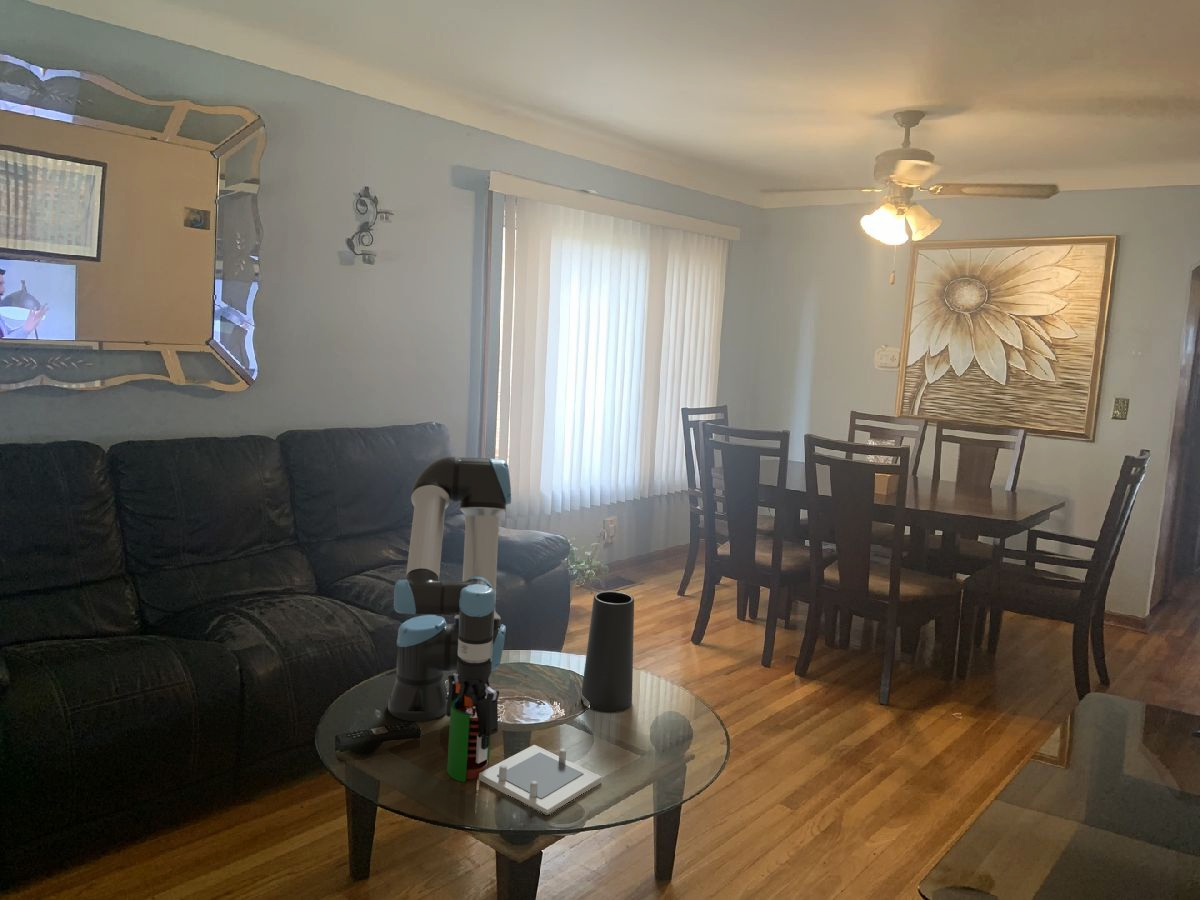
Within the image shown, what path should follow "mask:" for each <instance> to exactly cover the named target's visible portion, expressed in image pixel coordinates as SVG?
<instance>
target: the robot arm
mask: <svg viewBox="0 0 1200 900" xmlns="http://www.w3.org/2000/svg"><path fill="white" fill-rule="evenodd" d="M412 486H413V487H412V490H411V497H410V501H411V503H412V505H413V514H412V515H413V516H412V524H411V531H410V539H409V540H410V541H409V547H408V557H407V564H406V565H407V566H406V574H405V578H404V579H398V580H396V582H395V584H394V591H393V593H394V594H393V608H394V610H395V612H397V613H398V614H405V615H407V614H408V615H417V616H414V617H411V618H410V619H407V620H405V621H404V622H403V623H401V624H400V625H399V627H398V631H397V640H396V646H397V651H396V653H397V656H396V677H395V682H394V685H393V688H392V691H391V694H390V695H389V697H388V702H387V704H388V705H387V710H388V713H389V714H390V715H391V716H393V717H394V718H396V719H399V720H402V721H407V722H427V721H433V720H435V719H438V718H441V717H443V716H444V715H446V717H449V718H450V713H451V702H452V701H453V700H454V699H455V698H457V697H458V700H457V710H458V708H461V709H462V708H465V707H467V706H465V698H464V694H465V696H466V697H470V698H471V699H472V703H473V705H475V709H476V714H477V717H478V718H479V719H478V725H479V731H480V734H477V746H476V763H480V762H482V761H484V760H486V759H487V749H488V748H489V746H490V747H491V740H490V736H491V737H492V736H493V735H495V734H497V733H499V732H498V731H499V719H498V718H499V717H498V716H499V715H498V714H499V713H498V710H499V709H498V699H499V696H500V691H499V690H498V689H495V690H494V689H493V688H492V687H490V681H489V678H490V675H491V674H492V672H494V671H496V670H498V669H499V667H500V664H501V660H502V657H503V652H504V651H503V650H504V645H505V638H506V632H507V631H506V630H507V627H506V625H504V624H503V623H502V624H501V621H502V619H501V616H500V615H499V614H498V613H497V611H496V595H497V571H498V551H499V550H498V549H499V548H498V547H499V526H500V517H501V515H503V514H504V513H505V512H506V505H510V504H511V503H512V492H511V491H512V488H511V476H510V469H509V465H508V463H507V461H506V460H503V459H499V458H491V457H489V458H488V457H487V458H486V457H459V456H446V457H441V458H439V459H437V460H434V461H433V462H432V463H430V464H428V466H426V467H425V468H424V469H423V470H422V471H421V473H419V475H418V477H417V478H416V480H415V482H414V484H413V485H412ZM450 502H453V503H459V504H460V506H459V509H460V511H461V512H462V514H463V515H464V517H465V521H464V522H465V524H464V525H465V526H464V545H463V564H462V565H463V566H462V580H460V581H459V580H458V581H456V580H440V572H441V559H442V548H443V539H444V536H443V535H444V527H445V526H444V525H445V516H446V515H445V514H446V509H447V508H448V507H449V506H450ZM418 615H420V616H418ZM440 615H443V616H444V615H449V616H454V623H447V621H446V619H445V618H444V617H443V616H440ZM444 672H454V673H452V674H450V675H449V674H448V676H447V680H448V684H449V685H448V691H447V688H446V684H445V681H444ZM458 682H459V683H460V684H461V685H460V690H459V693H456V684H457V683H458ZM480 698H481V699H480ZM477 699H479V700H477ZM485 728H486V729H485Z"/></svg>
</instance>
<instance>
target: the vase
mask: <svg viewBox="0 0 1200 900" xmlns="http://www.w3.org/2000/svg"><path fill="white" fill-rule="evenodd" d="M634 628H635V598H634V597H633V596H631V595H630V594H627V593H625V592H620V591H613V590H612V591H610V590H609V591H600V592H597V593H596V594H594V596H593V600H592V607H591V615H590V624H589V632H588V641H587V647H586V655H585V663H584V671H583V676H582V677H583V679H582V685H581V687H582V688H581V693H582V695H583V696H584V697H585V698H586V699H587V700H588V701H589V702H590V709H589V710H592V711H593V712H594V711H595V712H597V713H603V714H604V713H605V714H617V713H621V712H624V711H627V710H629V709H630V708H631V707H632V705H633V681H634V679H633V677H634V675H633V674H634V673H633V672H634V638H635V637H634V631H635V629H634Z"/></svg>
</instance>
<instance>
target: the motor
mask: <svg viewBox="0 0 1200 900" xmlns="http://www.w3.org/2000/svg"><path fill="white" fill-rule="evenodd" d="M460 685H461V684H460V683H459V682H458V683H457V684H456V693H459V690H460ZM464 698H465V706H467V707H465V708H462V709H461V708H458V710H457V700H458V697H457V698H455V699H454V700H453V701H452V702H451V713H450V716H449V728H448V729H449V733H448V744H447V745H448V747H447V750H448V751H447V763H446V764H447V766H446V772H447V774H448V775H449V777H450V778H452V779H453V780H456V781H458V782H461V783H466V780H475V779H479V773H481V772H482V771H484V770H486V769H488V768H489V767H488V765H489V764H490V753H491V752H490V751H491V749H490V748H491V745H490V746H489V748H488V749H487V759H486V760H484V761H482V762H480V763H476V746H477V734H480V731H479V725H478V719H479V718H478V717H477V714H476V709H475V705H473V703H472V699H471V698H470V697H466V696H465V694H464ZM480 699H481V698H480ZM477 700H479V699H477ZM485 729H486V728H485ZM491 737H492V735H491V736H490V741H492V738H491Z"/></svg>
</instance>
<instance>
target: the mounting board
mask: <svg viewBox="0 0 1200 900" xmlns="http://www.w3.org/2000/svg"><path fill="white" fill-rule="evenodd" d="M478 780H479V781H480V782H482V783H484V784H486V785H488V786H490V787H492V788H493V789H495V790H497V791H499V792H501V793H503V794H504V795H506V796H508V795H509V796H508V797H510V796H511V798H512V797H514V798H516V799H519V800H521V801H522V802H524V803H527V804H528V805H531V806H533V807H535V808H538V809H539V810H541V811H543V812H546V813H549V812H551V811H552V810H554V809H556V808H558V807H560V806H562V805H564V804H566V803H568V802H569V801H571V800H572V799H574V798H576V797H577V796H579V795H581V794H582V795H584V794H586V793H587V792H589V791H590V789H591V788H592V789H594V788H596V787H597V786H598V785H601V784H602V776H601V775H599V774H597V773H595V772H592V771H590V770H589V769H586V768H584V767H583V766H580V765H578V764H576V763H574V762H572V761H570V760H567V749H565V748H560V749H559V751H558V755H557V754H555V753H553V752H552V751H548V750H546V749H544V748H543V747H540V746H538V745H536V744H533V745H531V746H529V747H527V748H525V749H523V750H521V751H519V752H518V753H516V754H514V755H511V756H510V757H508V758H506V759H504V760H502V761H500V762H499V763H498V762H497V763H495V764H494V765H492V766H490V767H488V768H487V769H486V770H484V771H482V772H481V773H479V778H478ZM593 787H594V788H593ZM592 789H591V790H592ZM588 790H589V791H588ZM586 791H587V792H586ZM585 792H586V793H585ZM583 793H584V794H583ZM582 795H581V796H582ZM579 797H580V796H579ZM514 798H513V799H514ZM576 799H577V798H576ZM574 800H575V799H574ZM571 802H572V801H571ZM568 804H569V803H568ZM566 805H567V804H566Z"/></svg>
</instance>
